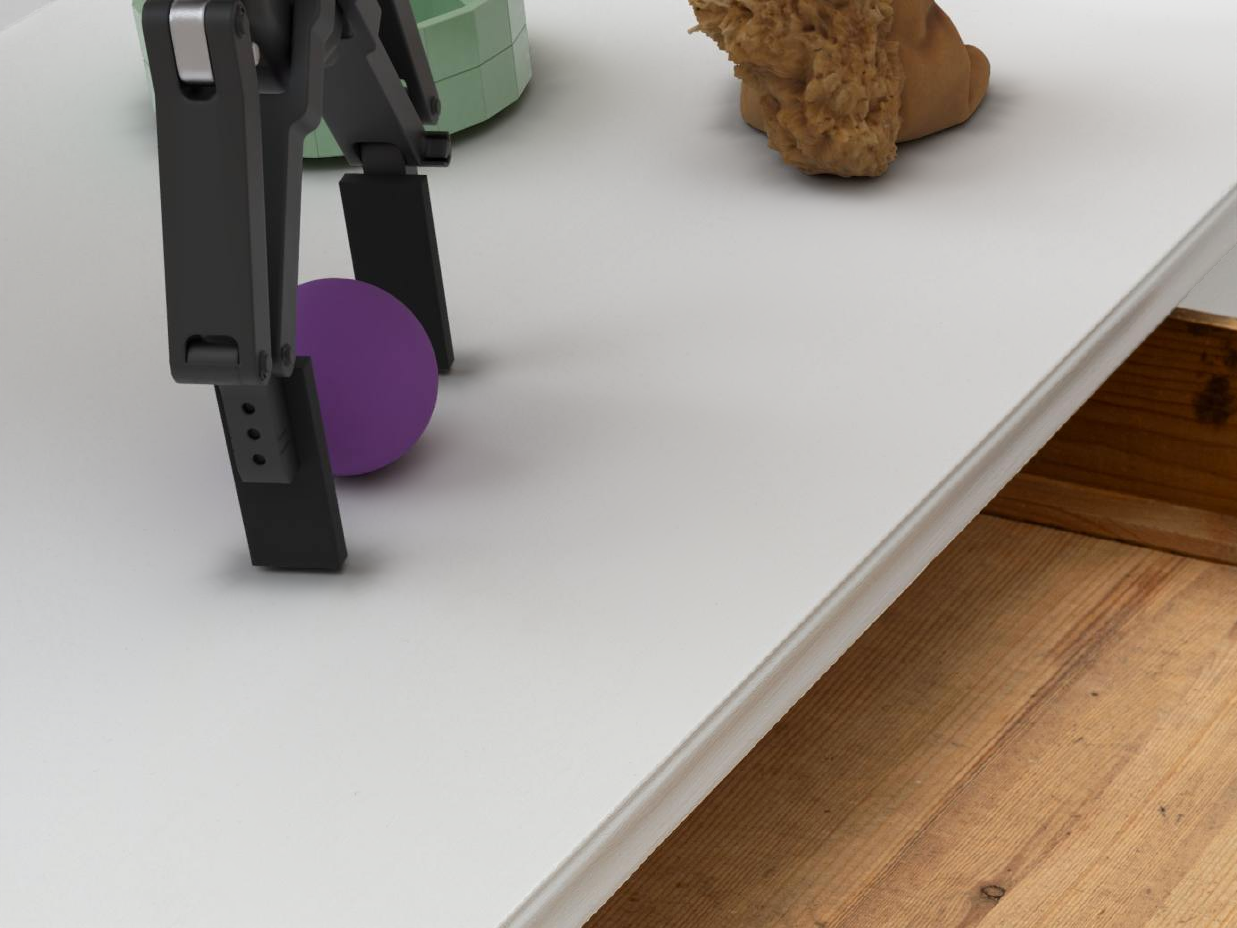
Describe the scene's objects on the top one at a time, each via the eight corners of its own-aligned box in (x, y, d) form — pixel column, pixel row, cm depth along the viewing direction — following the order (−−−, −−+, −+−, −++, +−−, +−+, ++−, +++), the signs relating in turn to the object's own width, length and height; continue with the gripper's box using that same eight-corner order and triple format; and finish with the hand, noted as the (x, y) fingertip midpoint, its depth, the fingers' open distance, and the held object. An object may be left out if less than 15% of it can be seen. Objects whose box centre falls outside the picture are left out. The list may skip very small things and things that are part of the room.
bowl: (103, 167, 101) (74, 41, 98) (226, 28, 113) (205, -88, 109) (482, 177, 99) (465, 48, 96) (567, 35, 111) (555, -84, 108)
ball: (233, 507, 80) (196, 328, 76) (291, 415, 84) (259, 242, 80) (422, 514, 79) (394, 335, 75) (470, 421, 84) (446, 247, 80)
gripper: (219, -127, 58) (369, 672, 72) (479, -379, 77) (559, 291, 90) (-96, -129, 59) (110, 662, 72) (237, -377, 78) (352, 287, 91)
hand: (359, 457), depth 81 cm, fingers open, 12 cm apart
